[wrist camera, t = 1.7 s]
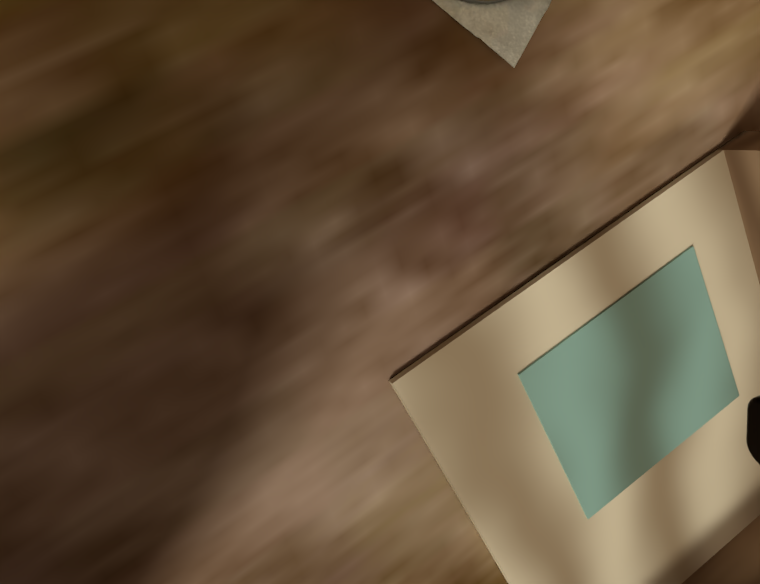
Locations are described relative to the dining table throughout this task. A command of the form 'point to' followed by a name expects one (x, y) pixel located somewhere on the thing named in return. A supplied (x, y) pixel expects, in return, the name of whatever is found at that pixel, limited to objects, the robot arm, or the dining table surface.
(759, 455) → the robot arm
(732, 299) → the corner arena
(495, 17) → the condiment
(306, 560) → the dining table surface
